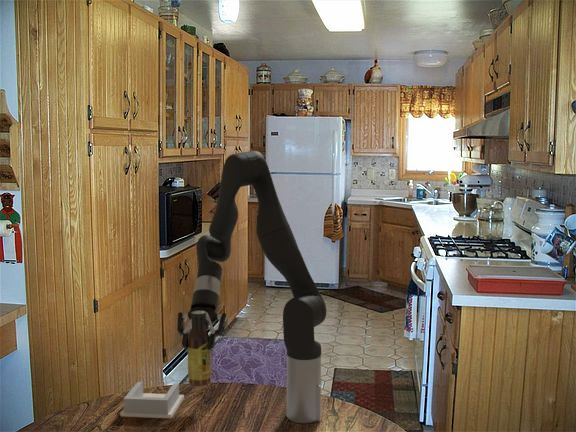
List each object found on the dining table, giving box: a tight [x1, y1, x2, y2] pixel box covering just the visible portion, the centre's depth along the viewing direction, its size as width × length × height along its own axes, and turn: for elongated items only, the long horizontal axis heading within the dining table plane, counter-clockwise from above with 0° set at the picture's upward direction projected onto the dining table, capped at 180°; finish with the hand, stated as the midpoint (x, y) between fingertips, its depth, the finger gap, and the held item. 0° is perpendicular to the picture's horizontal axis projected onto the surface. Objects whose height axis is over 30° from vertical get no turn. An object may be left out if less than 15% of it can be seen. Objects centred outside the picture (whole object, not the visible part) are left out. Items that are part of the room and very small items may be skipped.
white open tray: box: [120, 381, 185, 419], centre depth 163 cm, size 14×13×5 cm
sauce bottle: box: [187, 311, 212, 387], centre depth 160 cm, size 6×6×20 cm
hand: (197, 348), depth 159 cm, fingers closed on sauce bottle, 6 cm apart
